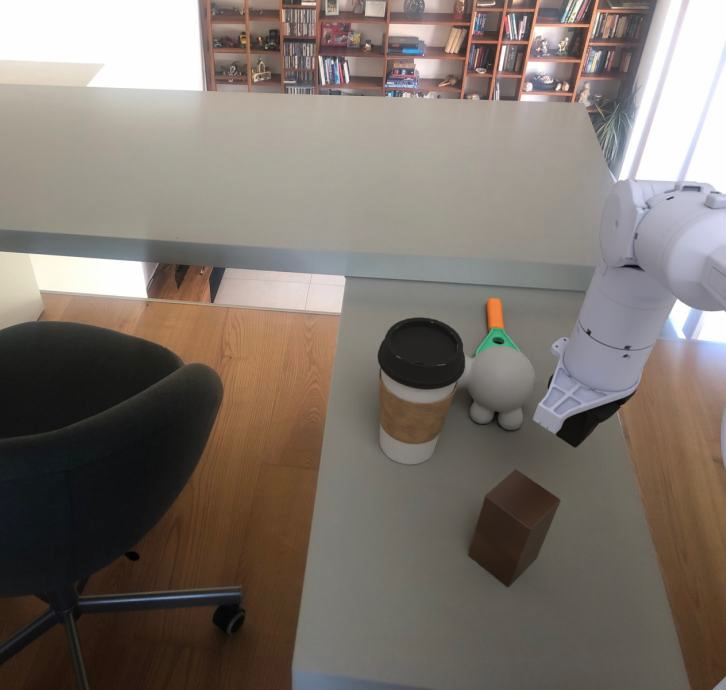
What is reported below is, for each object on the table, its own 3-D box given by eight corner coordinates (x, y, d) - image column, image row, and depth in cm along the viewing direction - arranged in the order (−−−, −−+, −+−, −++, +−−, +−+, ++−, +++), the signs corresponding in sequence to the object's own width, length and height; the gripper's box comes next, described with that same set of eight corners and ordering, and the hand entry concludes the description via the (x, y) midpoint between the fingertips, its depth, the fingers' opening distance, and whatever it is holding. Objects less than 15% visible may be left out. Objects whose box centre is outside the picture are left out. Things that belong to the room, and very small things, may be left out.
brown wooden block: (536, 558, 64) (561, 499, 59) (508, 587, 62) (530, 529, 56) (495, 527, 67) (515, 468, 61) (467, 554, 65) (484, 495, 59)
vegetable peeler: (527, 388, 82) (530, 377, 80) (474, 382, 82) (477, 372, 81) (515, 310, 93) (518, 300, 92) (469, 306, 94) (471, 295, 93)
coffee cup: (361, 464, 73) (372, 359, 64) (375, 409, 79) (387, 305, 70) (441, 482, 71) (466, 376, 62) (450, 424, 77) (473, 319, 68)
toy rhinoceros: (425, 372, 84) (435, 317, 78) (528, 397, 80) (546, 341, 75) (412, 413, 79) (421, 357, 73) (521, 441, 75) (539, 384, 70)
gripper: (618, 263, 59) (574, 375, 68) (517, 342, 52) (483, 454, 61) (702, 302, 55) (642, 415, 64) (604, 393, 48) (553, 505, 57)
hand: (569, 437), depth 62 cm, fingers closed
